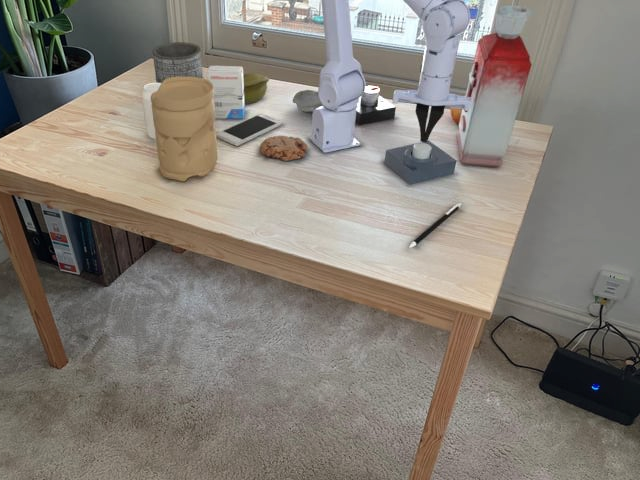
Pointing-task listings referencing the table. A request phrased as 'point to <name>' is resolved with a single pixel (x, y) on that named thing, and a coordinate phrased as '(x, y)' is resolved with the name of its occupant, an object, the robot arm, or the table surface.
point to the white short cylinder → (421, 151)
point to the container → (185, 127)
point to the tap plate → (375, 112)
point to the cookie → (283, 147)
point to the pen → (435, 225)
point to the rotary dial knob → (370, 96)
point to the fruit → (456, 114)
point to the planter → (177, 61)
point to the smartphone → (248, 129)
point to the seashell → (307, 100)
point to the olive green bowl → (254, 87)
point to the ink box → (227, 91)
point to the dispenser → (419, 163)
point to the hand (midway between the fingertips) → (423, 139)
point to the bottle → (495, 90)
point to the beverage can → (149, 107)
